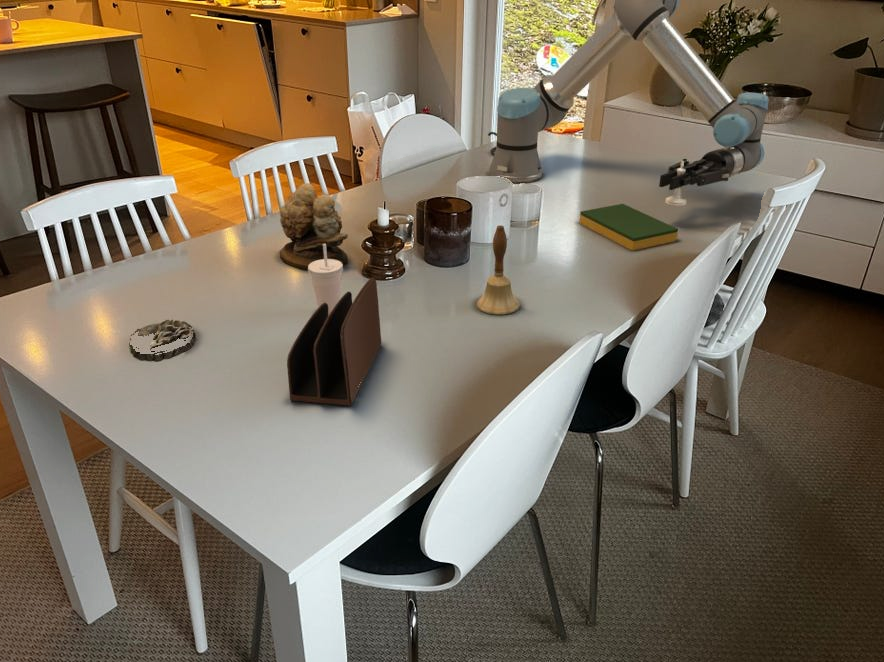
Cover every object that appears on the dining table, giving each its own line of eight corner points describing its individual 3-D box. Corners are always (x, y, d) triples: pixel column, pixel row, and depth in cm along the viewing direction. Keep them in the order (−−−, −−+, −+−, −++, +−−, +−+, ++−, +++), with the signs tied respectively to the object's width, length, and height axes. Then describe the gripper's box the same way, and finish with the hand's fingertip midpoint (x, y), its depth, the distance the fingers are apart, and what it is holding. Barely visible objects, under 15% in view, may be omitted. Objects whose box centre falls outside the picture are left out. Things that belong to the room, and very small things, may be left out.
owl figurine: (364, 259, 164) (359, 182, 155) (328, 277, 155) (321, 198, 146) (303, 242, 172) (295, 169, 163) (266, 259, 164) (256, 182, 155)
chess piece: (684, 199, 182) (691, 158, 177) (687, 206, 178) (695, 164, 173) (663, 198, 182) (670, 158, 177) (666, 205, 178) (673, 163, 173)
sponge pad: (579, 223, 183) (580, 211, 182) (621, 215, 188) (622, 203, 187) (632, 250, 168) (633, 238, 167) (676, 241, 173) (678, 228, 172)
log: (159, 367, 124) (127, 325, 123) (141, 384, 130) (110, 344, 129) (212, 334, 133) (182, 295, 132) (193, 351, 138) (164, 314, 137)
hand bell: (467, 306, 144) (469, 227, 136) (493, 292, 149) (496, 215, 141) (502, 319, 139) (506, 238, 131) (528, 304, 145) (532, 225, 136)
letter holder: (382, 344, 131) (378, 270, 124) (351, 407, 114) (345, 325, 107) (327, 340, 132) (320, 266, 125) (289, 401, 115) (279, 320, 108)
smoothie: (318, 323, 138) (311, 252, 131) (307, 309, 143) (300, 240, 135) (351, 315, 140) (346, 246, 133) (339, 302, 145) (334, 234, 138)
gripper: (697, 143, 190) (641, 159, 177) (751, 155, 181) (697, 174, 167) (692, 172, 194) (637, 190, 181) (745, 185, 184) (691, 206, 171)
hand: (666, 182), depth 174 cm, fingers closed on chess piece, 2 cm apart
